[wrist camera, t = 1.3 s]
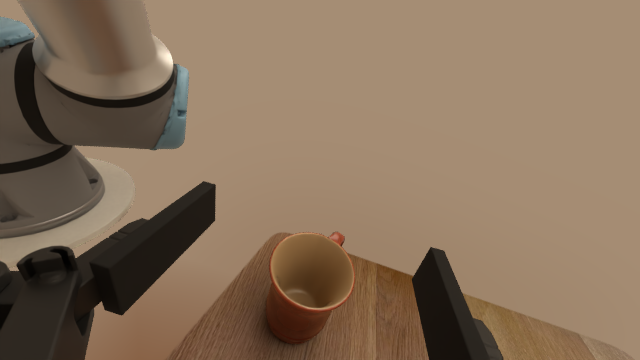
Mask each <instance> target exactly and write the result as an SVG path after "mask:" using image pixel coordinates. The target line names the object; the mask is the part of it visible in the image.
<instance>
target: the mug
mask: <svg viewBox="0 0 640 360" xmlns="http://www.w3.org/2000/svg"><path fill="white" fill-rule="evenodd" d="M344 240H345V237H344V236H343V235H342V234H340V233H339V232H334V233H333V234H332V235H331V236H330V237H326V236H324V235H321V234H317V233H310V232H303V233H296V234H293V235H290V236H288V237H286V238H284V239H283V240H282V241H280V242H279V243H278V244H277V246H276V247H275V248H274V250H273V252H272V254H271V257H270V262H269V272H270V277H271V281H272V284H271V287H270V290H269V294H268V296H267V300H266V317H267V322H268V325H269V327H270V329H271V331H272V332H273V334H274V335H275V336H276V337H277V338H279V339H280V340H282V341H283V342H286V343H289V344H301V343H305V342H307V341H309V340H310V339H312V338H313V337H314V336H316V335H317V334H318V333H319V332H320V331H321V330H322V329H323V327H324V325H325V323H326V321H327V319H328V317H329V315H330V313H331V311H332V310H334V309H336V308H337V307H339V306H341V305H342V304H343V303H344V302H345V301H346V300H347V299H348V298H349V296H350V295H351V293H352V291H353V288H354V284H355V271H354V267H353V264H352V262H351V259H350V257H349V256H348V254H347V252H346V251H345V250H344V249H343V248H342V245H343V243H344Z"/></svg>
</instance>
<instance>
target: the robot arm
mask: <svg viewBox="0 0 640 360" xmlns="http://www.w3.org/2000/svg"><path fill="white" fill-rule="evenodd" d="M17 1H18V3H19V4H20V6H21V7H22V9H23V10H24V12H25V13H26V15H27V16H28V18H29V19H30V21H31V22H32V24H33V25H34V27H35V29H36V30H37V32H38V33H39V36H38V37H37V38H36V40H34V37H35V36H34V33H32V32H31V31H30V29H29V28H28V27H27V26H26V25H25V24H24V23H22V22H20V21H14V20H13V19H9V18H4V17H0V239H3V238H14V237H21V236H26V235H31V234H36V233H40V232H44V231H47V230H50V229H53V228H56V227H59V226H62V225H64V224H66V223H69V222H71V221H73V220H75V219H77V218H79V217H81V216H82V215H84V214H86V213H87V212H89V211H90V210H91V209H93V208H94V207H95V206H96V205H97V204H98V203H99V202H100V200H101V199H102V197H103V196H104V193H105V185H104V182H103V179H102V176H101V175H100V173H99V172H98V171H97V170H96V168H95V167H94V166H93V165H92V164H91V163H90V162H89V161H88V160H87V159H86V158H85V157H84V156H83V155H82V154H81V153H80V152H79V151H78V150H77V149H76V148H75V146H74V145H79V146H103V147H121V148H139V149H150V150H157V149H176V148H179V147H180V146H181V145H182V144H183V143H184V139H185V127H186V112H187V99H188V82H189V72H188V70H187V69H186V68H184V67H182V66H180V65H179V64H173V60H172V57H171V54H170V52H169V50H168V49H167V47H166V46H165V45H164V44H163V43H162V42H161V41H160V40H159V39H158V38H157V37H155V36H154V35H152V34H151V30H150V25H149V21H148V17H147V12H146V9H145V4H144V0H17ZM215 186H216V185H215V184H211V183H207V182H204V181H203V182H202V183H201V184H199V185H198V186H196V187H195V188H194V189H192V190H191V191H189V192H188V193H186V194H185V195H184V196H182V197H181V198H179V199H178V200H176V201H175V202H174V203H172V204H171V205H169V206H168V207H167V208H165V209H164V210H162V211H161V212H159V213H158V214H157V215H155V216H154V217H153V218H151V219H150V220H146V219H143V218H142V219H139V220H136V221H134V222H131V223H129V224H127V225H126V226H124V227H123V228H121V229H120V230H118V232H115V233H114V234H112V235H111V236H109V238H106V239H104V240H103V241H101V242H100V243H98V244H97V245H95V246H94V247H92V248H91V249H89V250H88V251H87V252H85V253H83V254H82V255H80V256H79V257H77V258H75V256H74V253H73V251H72V249H70V248H69V247H66V246H50V247H46V248H41V249H39V250H36V251H34V252H31V253H30V254H28V255H26V256H25V257H23V258H22V259H21V260H20V261H19V262H18V263H17V264H16V266H17V267H18V269H19V271H10V270H9V268H8V266H7V265H6V264H5V263H4V262H2V261H0V360H84V359H85V355H86V350H87V345H88V341H89V336H90V331H91V327H92V322H93V317H94V307H95V306H96V305H98V304H99V303H100V302H101V301H102V303H103V306H104V309H105V310H107V311H110V312H113V313H116V314H119V315H123V314H124V313H125V312H126V311H127V310H128V309H129V308H130V307H131V306H132V305H133V304H134V303H135V302H136V301H137V300H138V299H139V298H140V297H141V296H142V295H143V294H144V292H146V291H147V289H148V288H149V287H150V286H151V285H152V284H153V283H154V282H155V281H156V280H157V279H158V278H159V277H160V276H161V275H162V274H163V273H164V272H165V271H166V270H167V269H168V268H169V267H170V266H171V265H172V264H173V263H174V262H175V261H176V260H177V259H178V258H179V257H180V256H181V255H182V254H183V253H184V251H186V250H187V249H188V248H189V247H190V246H191V245H192V244H193V243H194V242H195V241H196V239H197V238H198V237H199V236H200V235H201V234H202V233H203V232H204V231H205V230H206V229H207V228H208V227H209V226H210V225H211V224H212V223H213V222H214V221H215V188H216V187H215ZM412 283H413V287H414V292H415V297H416V301H417V306H418V310H419V315H420V320H421V324H422V329H423V333H424V338H425V343H426V347H427V352H428V356H429V360H503V356H502V354H501V352H500V350H499V349H498V346H497V344H496V341H495V339H494V337H493V335H492V333H491V332H490V331H489V329H488V328H487V327H486V326H485V324H484V323H483V322H482V321H481V320H478V319H474V318H473V317H472V315H471V313H470V310H469V308H468V306H467V303H466V301H465V299H464V296H463V294H462V292H461V290H460V287H459V285H458V282H457V280H456V278H455V275H454V273H453V271H452V268H451V266H450V264H449V261H448V259H447V257H446V254H445V252H444V251H443V250H439V249H435V248H432V247H431V248H430V249H429V251H428V253H427V254H426V256H425V258H424V260H423V261H422V263H421V265H420V266H419V268H418V270H417V272H416V273H415V275H414V276H413V278H412Z"/></svg>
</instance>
